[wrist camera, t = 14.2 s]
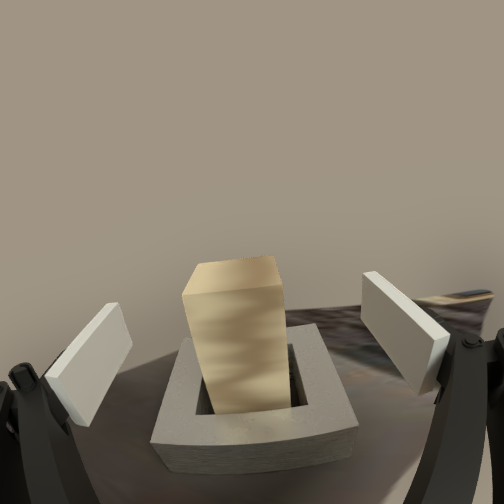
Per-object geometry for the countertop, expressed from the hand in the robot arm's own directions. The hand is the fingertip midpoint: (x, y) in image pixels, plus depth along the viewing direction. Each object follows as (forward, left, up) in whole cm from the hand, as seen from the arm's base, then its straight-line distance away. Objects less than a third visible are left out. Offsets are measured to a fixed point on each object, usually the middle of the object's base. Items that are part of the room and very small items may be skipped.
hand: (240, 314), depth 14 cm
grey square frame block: (0, +3, -10) cm, 11 cm away
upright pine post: (0, +2, -11) cm, 11 cm away
